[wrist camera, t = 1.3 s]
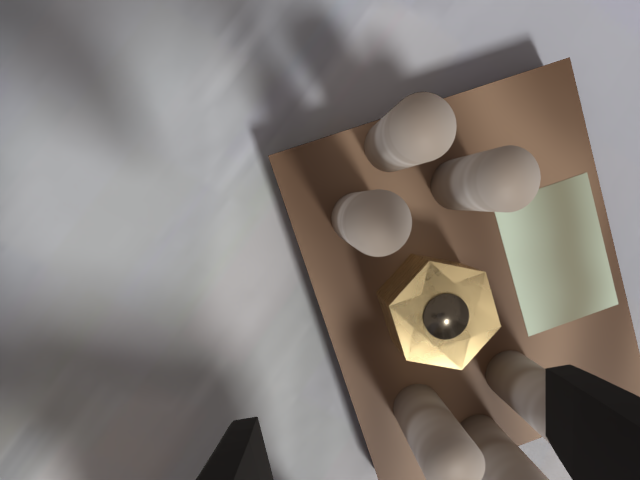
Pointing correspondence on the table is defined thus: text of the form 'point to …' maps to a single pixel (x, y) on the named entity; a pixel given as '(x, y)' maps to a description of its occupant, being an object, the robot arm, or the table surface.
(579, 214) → the board
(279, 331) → the table surface
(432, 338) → the nut
